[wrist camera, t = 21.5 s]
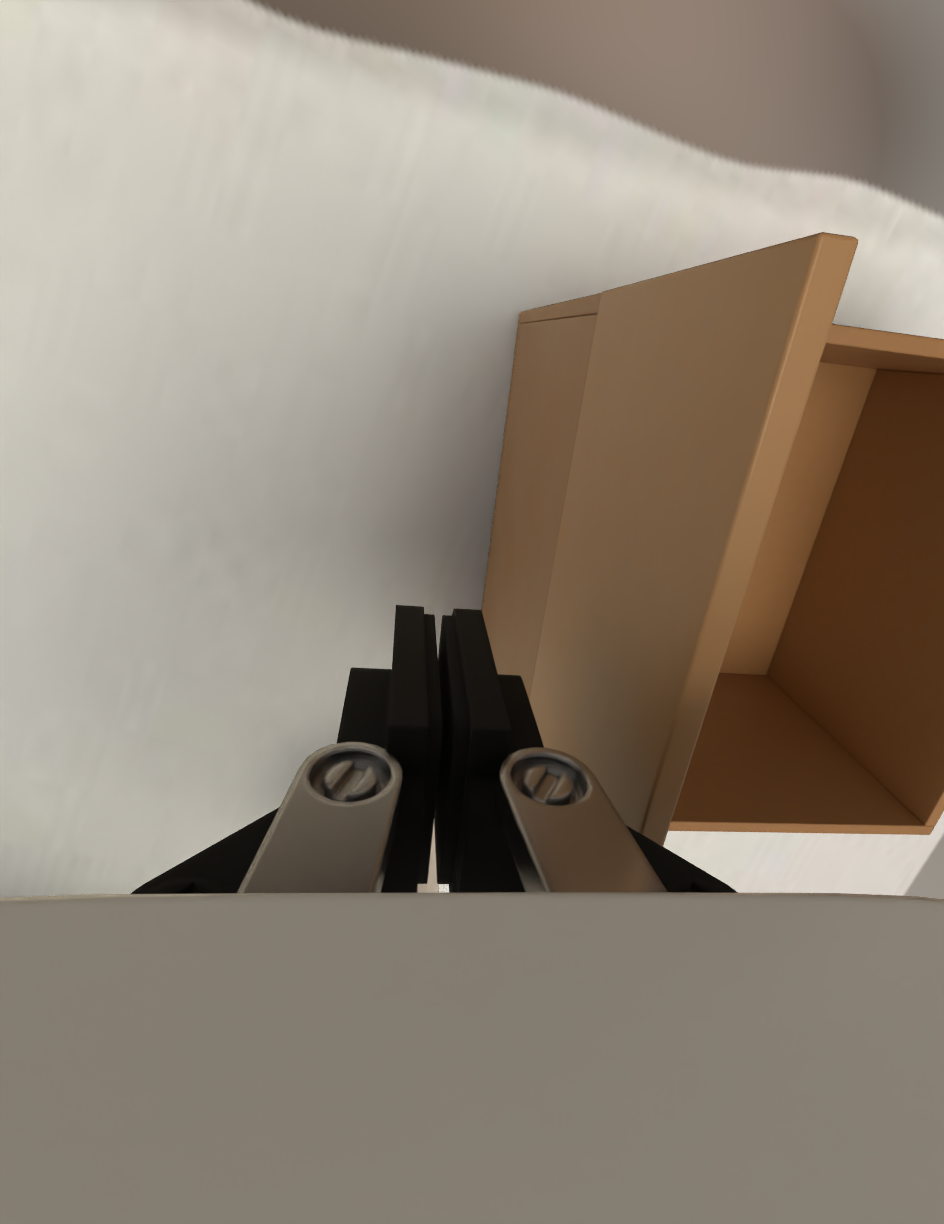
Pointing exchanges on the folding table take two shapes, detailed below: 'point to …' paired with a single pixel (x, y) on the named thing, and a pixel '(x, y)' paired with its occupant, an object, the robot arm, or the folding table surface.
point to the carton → (777, 587)
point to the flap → (674, 506)
